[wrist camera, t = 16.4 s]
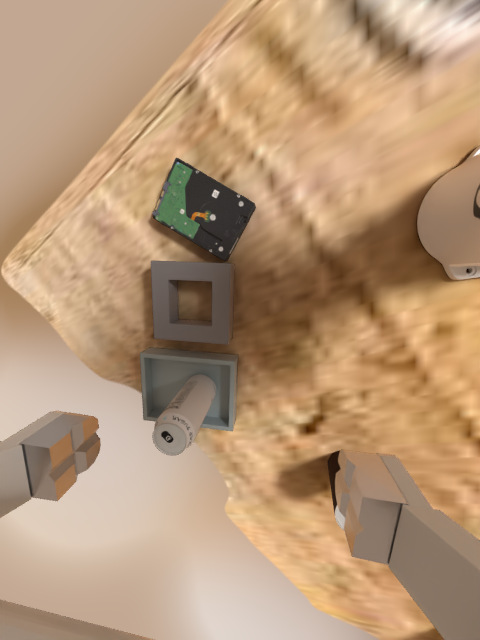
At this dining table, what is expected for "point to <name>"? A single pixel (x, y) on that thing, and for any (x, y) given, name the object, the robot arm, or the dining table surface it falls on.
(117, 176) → the dining table surface
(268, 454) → the dining table surface
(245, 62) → the dining table surface
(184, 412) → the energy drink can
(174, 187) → the disk drive
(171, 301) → the socket block
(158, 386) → the parts tray
